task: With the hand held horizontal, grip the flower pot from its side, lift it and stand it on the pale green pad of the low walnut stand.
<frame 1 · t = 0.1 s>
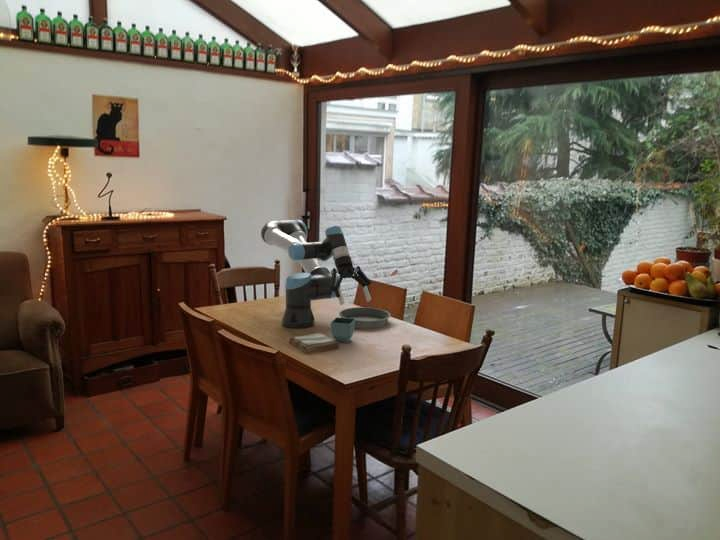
hand: (356, 302, 256), 15 cm above the table, tool tilted 35°, fingers open, 13 cm apart
stand: (313, 345, 245), on the table
flower pot: (342, 341, 252), on the table
cake pan: (364, 323, 281), on the table
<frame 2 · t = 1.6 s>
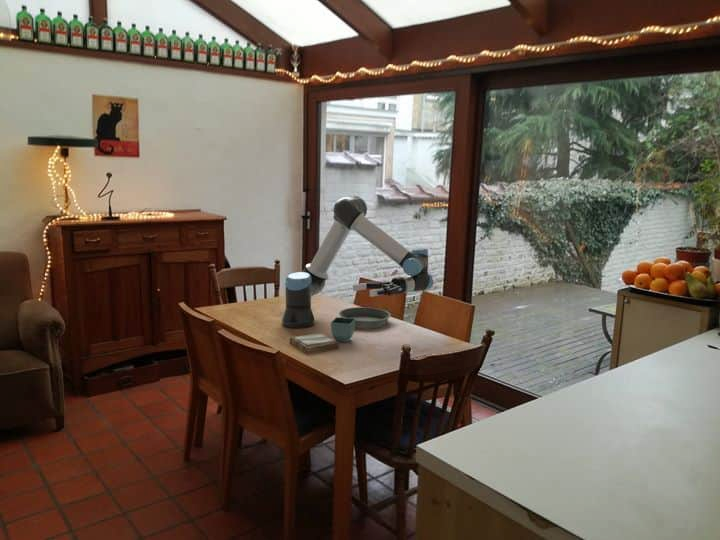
hand: (361, 290, 253), 21 cm above the table, tool horizontal, fingers open, 13 cm apart
nothing on the table moved.
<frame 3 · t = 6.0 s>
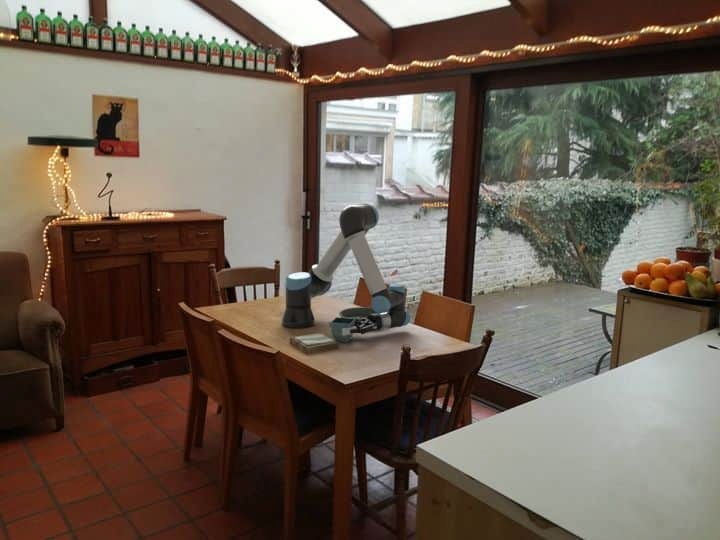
hand: (335, 328, 249), 6 cm above the table, tool horizontal, fingers closed on flower pot, 11 cm apart
flower pot: (342, 341, 252), on the table, touching gripper
everything else where it was.
when the fingers open (10 cm above the table, at t = 10.8 s): flower pot drops 1 cm, resting on stand.
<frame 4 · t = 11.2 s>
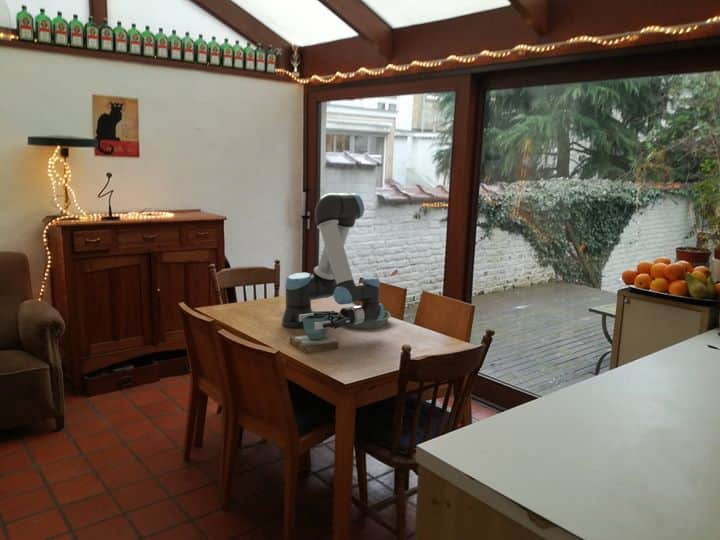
hand: (306, 322, 241), 10 cm above the table, tool horizontal, fingers open, 13 cm apart
flower pot: (316, 339, 243), point 3 cm above the table, touching gripper, stand
everything else where it was.
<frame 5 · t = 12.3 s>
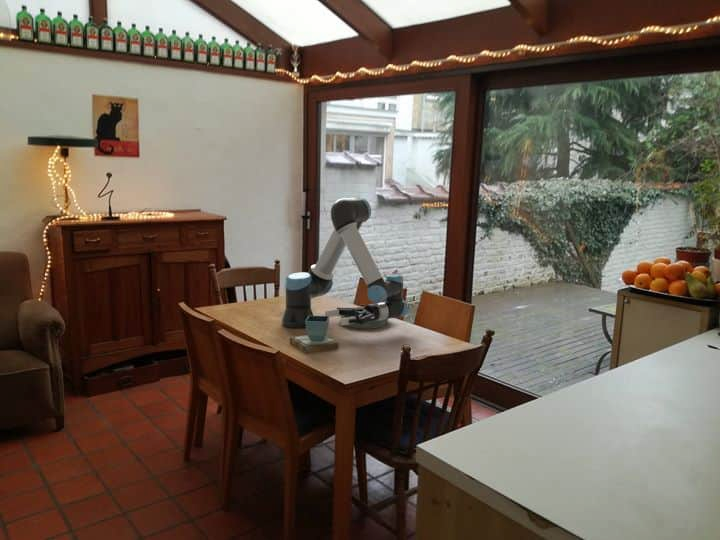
hand: (333, 318, 247), 11 cm above the table, tool horizontal, fingers open, 13 cm apart
flower pot: (317, 340, 243), point 3 cm above the table, touching stand
everything else where it was.
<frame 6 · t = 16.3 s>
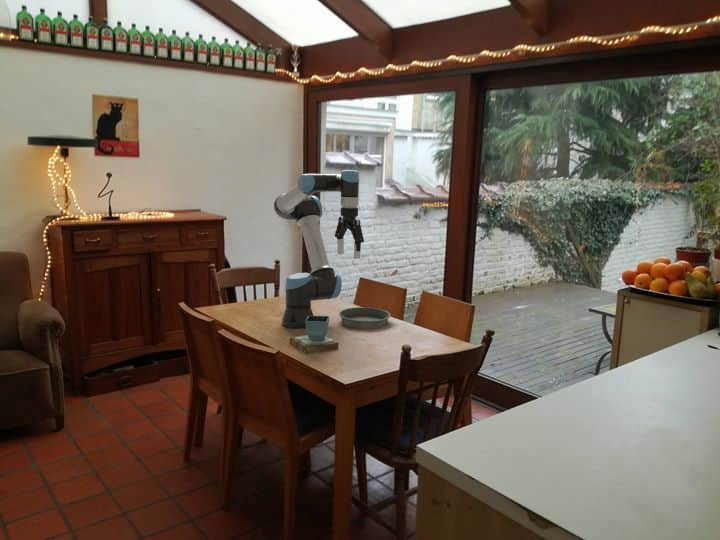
hand: (348, 256, 256), 35 cm above the table, tool pointing down, fingers open, 13 cm apart
nothing on the table moved.
at the end: flower pot inside the target area on the stand (1.8 cm from its centre), point 2.8 cm above the stand's base; flower pot tilted 0°; the gripper is holding nothing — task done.
